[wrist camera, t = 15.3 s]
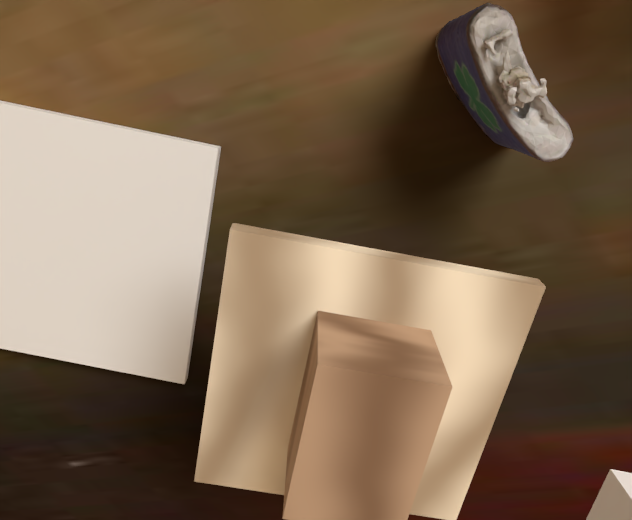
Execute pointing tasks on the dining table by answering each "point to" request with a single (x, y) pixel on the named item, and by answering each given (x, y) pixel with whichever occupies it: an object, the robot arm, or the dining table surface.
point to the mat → (101, 241)
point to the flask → (501, 84)
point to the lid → (356, 375)
